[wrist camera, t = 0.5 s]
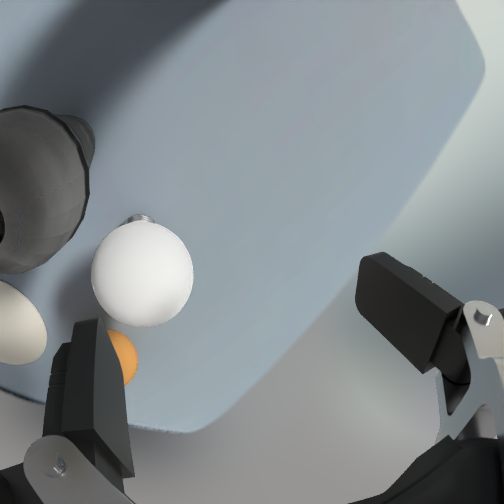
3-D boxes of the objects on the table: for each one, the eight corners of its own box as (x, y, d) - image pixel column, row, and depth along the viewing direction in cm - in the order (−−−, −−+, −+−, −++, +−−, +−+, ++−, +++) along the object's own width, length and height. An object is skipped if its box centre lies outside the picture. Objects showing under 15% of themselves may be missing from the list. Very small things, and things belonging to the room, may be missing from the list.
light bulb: (112, 267, 26) (109, 358, 17) (92, 198, 23) (67, 269, 14) (183, 251, 28) (211, 335, 19) (170, 180, 24) (193, 239, 15)
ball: (80, 314, 27) (75, 358, 22) (138, 319, 29) (142, 363, 25) (83, 355, 29) (81, 398, 24) (134, 359, 32) (139, 401, 27)
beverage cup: (24, 186, 20) (-110, 378, 3) (34, 96, 17) (-171, 151, 1) (104, 194, 23) (66, 424, 6) (120, 104, 20) (38, 138, 4)
